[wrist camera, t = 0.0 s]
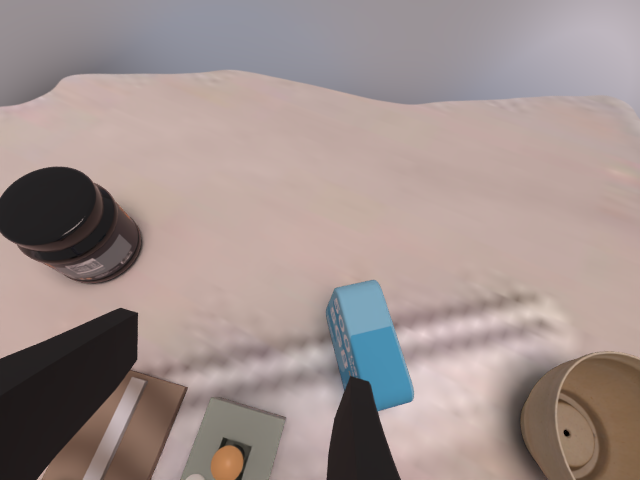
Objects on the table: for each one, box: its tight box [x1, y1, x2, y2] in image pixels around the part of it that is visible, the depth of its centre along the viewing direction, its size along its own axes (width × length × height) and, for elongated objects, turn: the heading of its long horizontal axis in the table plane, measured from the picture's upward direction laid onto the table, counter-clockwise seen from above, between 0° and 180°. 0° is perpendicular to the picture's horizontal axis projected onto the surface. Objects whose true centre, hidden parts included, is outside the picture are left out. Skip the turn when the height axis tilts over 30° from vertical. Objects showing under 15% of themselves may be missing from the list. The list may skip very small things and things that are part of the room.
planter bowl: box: [520, 351, 640, 480], centre depth 36 cm, size 16×16×11 cm
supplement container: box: [0, 167, 141, 283], centre depth 40 cm, size 10×10×12 cm
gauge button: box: [211, 445, 245, 480], centre depth 32 cm, size 3×3×5 cm
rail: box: [41, 370, 188, 480], centre depth 35 cm, size 18×10×2 cm, turn 165°
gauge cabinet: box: [180, 397, 286, 480], centre depth 35 cm, size 9×8×5 cm
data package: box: [326, 280, 414, 411], centre depth 37 cm, size 12×4×12 cm, turn 13°
